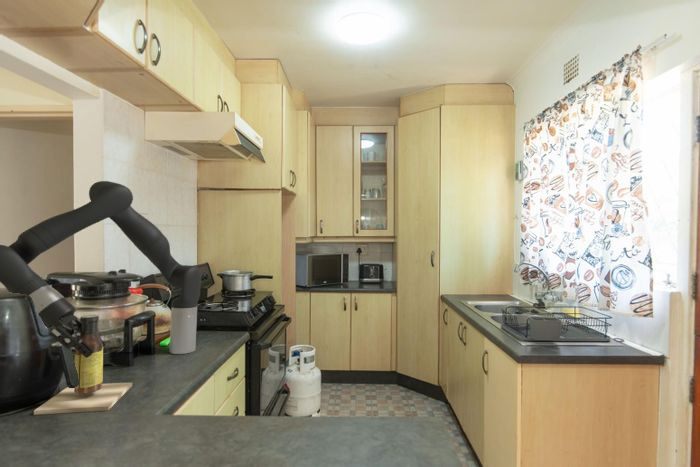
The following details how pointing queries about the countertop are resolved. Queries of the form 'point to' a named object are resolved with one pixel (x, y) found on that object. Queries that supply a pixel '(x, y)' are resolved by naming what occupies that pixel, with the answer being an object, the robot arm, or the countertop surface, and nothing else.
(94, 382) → the sauce bottle
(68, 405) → the birch board
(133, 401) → the countertop surface
